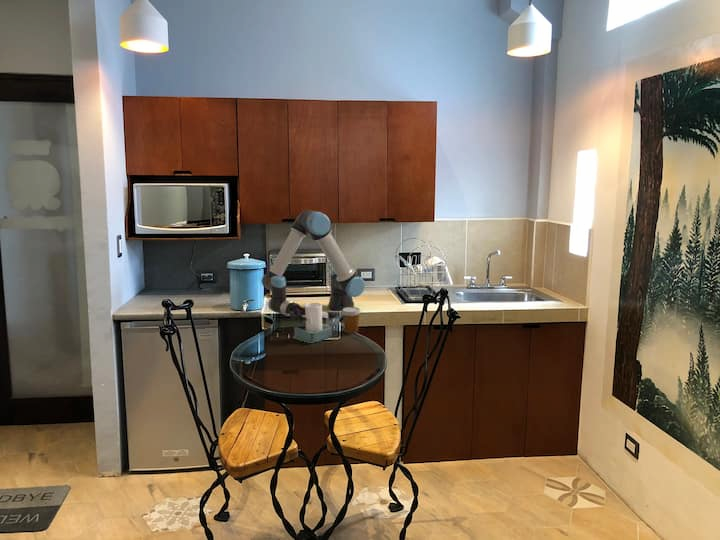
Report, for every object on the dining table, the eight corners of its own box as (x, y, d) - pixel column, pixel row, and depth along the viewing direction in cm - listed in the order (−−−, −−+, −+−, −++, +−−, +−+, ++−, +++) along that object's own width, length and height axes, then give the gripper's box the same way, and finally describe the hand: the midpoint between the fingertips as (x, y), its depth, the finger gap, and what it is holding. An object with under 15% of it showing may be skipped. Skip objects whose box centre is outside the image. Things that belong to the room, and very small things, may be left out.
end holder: (317, 330, 291) (317, 320, 290) (335, 336, 281) (335, 326, 280) (293, 337, 280) (292, 328, 279) (311, 344, 270) (311, 334, 269)
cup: (318, 332, 286) (318, 301, 282) (325, 337, 279) (324, 305, 275) (303, 334, 282) (302, 303, 279) (309, 339, 275) (308, 308, 271)
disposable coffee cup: (358, 335, 282) (358, 312, 279) (340, 334, 284) (339, 311, 281) (362, 329, 291) (362, 307, 288) (344, 328, 293) (344, 306, 290)
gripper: (307, 311, 299) (336, 320, 284) (273, 321, 284) (302, 330, 268) (307, 297, 298) (336, 305, 282) (273, 306, 282) (301, 315, 267)
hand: (319, 318), depth 275 cm, fingers open, 10 cm apart
